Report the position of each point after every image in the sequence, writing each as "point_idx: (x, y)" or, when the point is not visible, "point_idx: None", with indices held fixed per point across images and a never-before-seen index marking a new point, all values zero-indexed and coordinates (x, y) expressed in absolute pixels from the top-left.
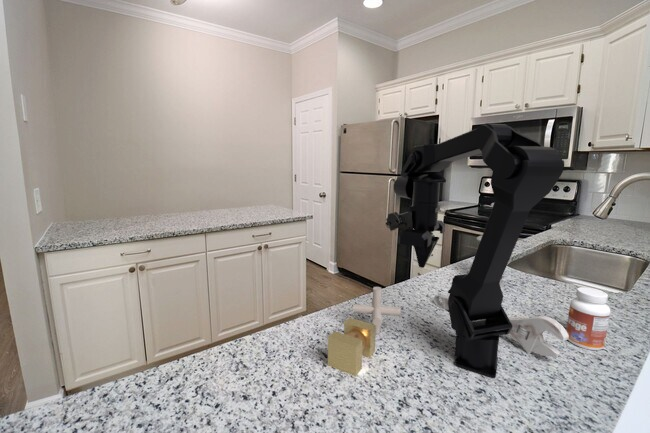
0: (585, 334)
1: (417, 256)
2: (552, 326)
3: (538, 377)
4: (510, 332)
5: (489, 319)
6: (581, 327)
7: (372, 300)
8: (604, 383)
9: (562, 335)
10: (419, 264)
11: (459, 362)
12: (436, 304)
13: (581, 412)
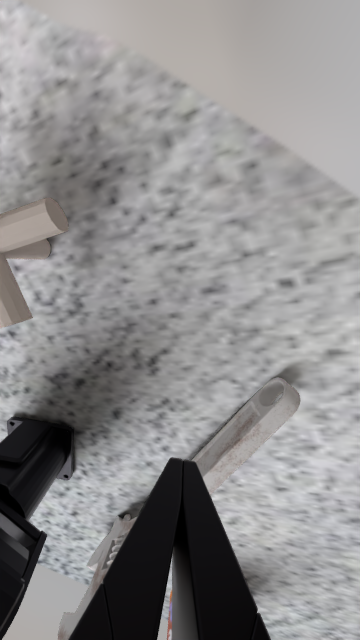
0: (169, 621)
1: (117, 559)
2: (63, 636)
3: (56, 513)
4: (131, 524)
5: (28, 548)
6: (170, 636)
7: (33, 203)
8: (87, 572)
9: (59, 628)
10: (160, 479)
11: (13, 425)
12: (270, 381)
13: None
